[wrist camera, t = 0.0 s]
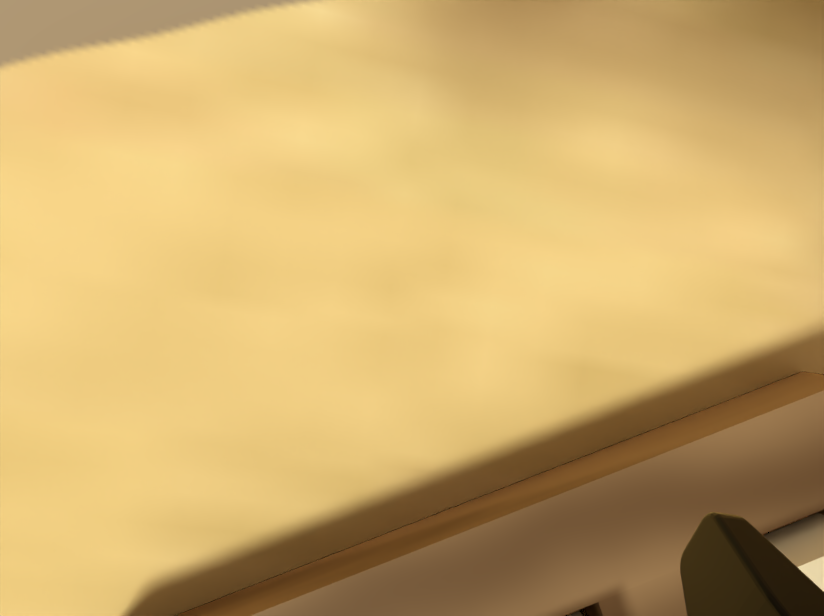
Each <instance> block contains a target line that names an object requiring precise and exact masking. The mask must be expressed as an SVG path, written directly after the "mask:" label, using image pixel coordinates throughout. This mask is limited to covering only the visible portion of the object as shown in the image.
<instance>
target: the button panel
mask: <svg viewBox="0 0 824 616" xmlns="http://www.w3.org/2000/svg"><path fill="white" fill-rule="evenodd" d="M710 512H718V513H725V514H733V515H738V516H741V517H743V518H744V519H746V520H747V521H748V522H749V523H750V524H751V525H752V526H754V527H755V528H756V529H757V530H758V531H759V532H760V533H761V534H762V535H763V534H765V533H767V532H770V531H772V530H775V529H777V528H780V527H782V526H784V525H787V524H789V523H792V522H794V521H797V520H799V519H801V518H804V517H806V516H808V517H809V516H811V515H814V514H816V513H820V514H822V515H824V375H823V374H816V373H809V372H800V373H798V374H795V375H792V376H790V377H787V378H785V379H782V380H780V381H777V382H774V383H772V384H769V385H767V386H764V387H762V388H759V389H756V390H754V391H751V392H749V393H746V394H744V395H741V396H738V397H736V398H733V399H731V400H728V401H726V402H723V403H720V404H718V405H715V406H713V407H710V408H708V409H705V410H702V411H700V412H697V413H695V414H692V415H690V416H687V417H684V418H682V419H679V420H677V421H674V422H672V423H669V424H666V425H664V426H661V427H659V428H656V429H654V430H651V431H649V432H646V433H643V434H641V435H638V436H636V437H633V438H631V439H628V440H625V441H623V442H620V443H618V444H615V445H613V446H610V447H607V448H605V449H602V450H600V451H597V452H595V453H592V454H589V455H587V456H584V457H582V458H579V459H577V460H574V461H571V462H569V463H566V464H564V465H561V466H559V467H556V468H553V469H551V470H548V471H546V472H543V473H541V474H538V475H535V476H533V477H530V478H528V479H525V480H523V481H520V482H517V483H515V484H512V485H510V486H507V487H505V488H502V489H499V490H497V491H494V492H492V493H489V494H487V495H484V496H481V497H479V498H476V499H474V500H471V501H469V502H466V503H463V504H461V505H458V506H456V507H453V508H451V509H448V510H445V511H443V512H440V513H438V514H435V515H433V516H430V517H427V518H425V519H422V520H420V521H417V522H415V523H412V524H410V525H407V526H404V527H402V528H399V529H397V530H394V531H392V532H389V533H386V534H384V535H381V536H379V537H376V538H374V539H371V540H368V541H366V542H363V543H361V544H358V545H356V546H353V547H350V548H348V549H345V550H343V551H340V552H338V553H335V554H332V555H330V556H327V557H325V558H322V559H320V560H317V561H314V562H312V563H309V564H307V565H304V566H302V567H299V568H296V569H294V570H291V571H289V572H286V573H284V574H281V575H278V576H276V577H273V578H271V579H268V580H266V581H263V582H260V583H258V584H255V585H253V586H250V587H248V588H245V589H242V590H240V591H237V592H235V593H232V594H230V595H227V596H224V597H222V598H219V599H217V600H214V601H212V602H209V603H206V604H204V605H201V606H199V607H196V608H194V609H191V610H188V611H186V612H183V613H181V614H178V615H176V616H565V615H568V614H570V613H573V612H575V611H577V610H580V609H582V608H585V610H586V613H587V616H687V611H686V605H685V599H684V592H683V586H682V580H681V574H680V561H681V557H682V553H683V551H684V549H685V548H686V546H687V544H688V543H689V541H690V539H691V537H692V536H693V534H694V532H695V531H696V529H697V527H698V525H699V524H700V522H701V520H702V519H703V517H704V516H705V515H707V514H708V513H710Z"/></svg>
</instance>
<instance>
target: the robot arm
mask: <svg viewBox="0 0 824 616" xmlns="http://www.w3.org/2000/svg"><path fill="white" fill-rule="evenodd" d="M680 574H681V580H682V586H683V592H684V599H685V605H686V611H687V616H824V591H822V590H821V589H820V588H819V587H818V586H817V585H816V584H815V583H814V582H813V581H812V580H811V579H810V578H808V577H807V576H806V575H805V574H804V573H803V572H802V571H801V570H800V569H799V568H798V567H797V566H796V565H794V564H793V563H792V562H791V561H790V560H789V559H788V558H787V557H786V556H785V555H784V554H783V553H782V552H780V551H779V550H778V549H777V548H776V547H775V546H774V545H773V544H772V543H771V542H770V541H769V540H768V539H766V538H765V537H764V536H763V535H762V534H761V533H760V532H759V531H758V530H757V529H756V528H755V527H754V526H752V525H751V524H750V523H749V522H748V521H747V520H746V519H744V518H743V517H741V516H738V515H733V514H725V513H718V512H710V513H708V514H707V515H705V516H704V517H703V519H702V520H701V522H700V524H699V525H698V527H697V529H696V531H695V532H694V534H693V536H692V537H691V539H690V541H689V543H688V544H687V546H686V548H685V549H684V551H683V553H682V557H681V561H680Z"/></svg>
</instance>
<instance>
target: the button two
mask: <svg viewBox="0 0 824 616" xmlns="http://www.w3.org/2000/svg"><path fill="white" fill-rule="evenodd" d="M568 616H582V614H581V613H580V612H579V611H578V612H575V613H573V614H570V615H568Z"/></svg>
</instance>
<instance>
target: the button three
mask: <svg viewBox="0 0 824 616" xmlns="http://www.w3.org/2000/svg"><path fill="white" fill-rule="evenodd" d="M763 536H764V537H765V538H766V539H768V540H769V541H770V542H771V543H772V544H773V545H774V546H775V547H776V548H777V549H778V550H779V551H780V552H782V553H783V554H784V555H785V556H786V557H787V558H788V559H789V560H790V561H791V562H792V563H793V564H794V565H796V566H797V567H798V568H799V569H800V570H801V571H802V572H803V573H804V574H805V575H806V576H807V577H808V578H810V579H811V580H812V581H813V582H814V583H815V584H816V585H817V586H818V587H819V588H820V589H821V590H822V591H824V515H822V514H820V513H816V514H814V515H811V516H809V517H806V518H804V519H802V520H799V521H797V522H794V523H792V524H789V525H787V526H784V527H782V528H780V529H777V530H775V531H772V532H770V533H767V534H765V535H763Z"/></svg>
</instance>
